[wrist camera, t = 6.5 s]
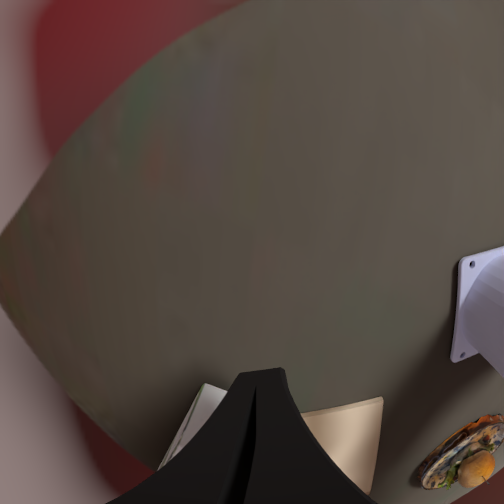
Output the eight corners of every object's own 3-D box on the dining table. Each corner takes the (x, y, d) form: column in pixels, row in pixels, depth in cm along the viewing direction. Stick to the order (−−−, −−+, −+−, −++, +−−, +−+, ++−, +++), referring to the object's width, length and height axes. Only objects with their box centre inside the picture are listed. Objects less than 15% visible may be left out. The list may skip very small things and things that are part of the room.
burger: (404, 489, 22) (417, 535, 15) (434, 432, 19) (462, 488, 12) (480, 460, 21) (499, 496, 14) (516, 397, 18) (548, 436, 11)
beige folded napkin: (381, 396, 18) (383, 400, 17) (368, 490, 21) (369, 494, 21) (207, 421, 19) (206, 426, 19) (250, 506, 23) (250, 510, 22)
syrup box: (283, 410, 17) (215, 487, 22) (201, 378, 18) (159, 465, 22) (278, 478, 12) (202, 531, 16) (172, 442, 12) (139, 508, 16)
